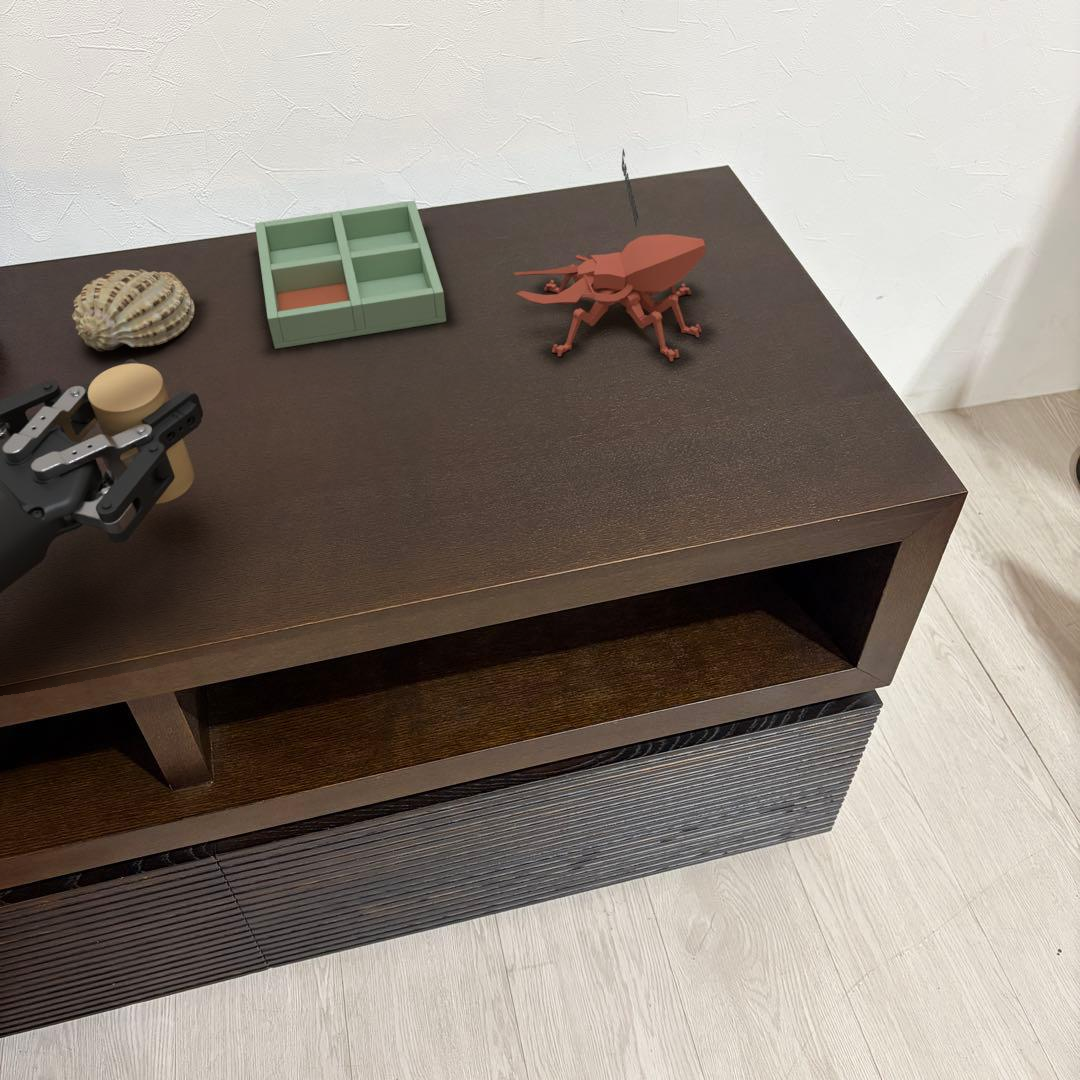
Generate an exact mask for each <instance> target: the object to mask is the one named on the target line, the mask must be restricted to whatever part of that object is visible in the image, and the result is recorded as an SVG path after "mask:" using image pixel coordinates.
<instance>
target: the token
mask: <svg viewBox="0 0 1080 1080" xmlns="http://www.w3.org/2000/svg"><path fill="white" fill-rule="evenodd" d="M122 364H123V363H122ZM118 365H119V366H117V365H115V366H116V367H114V366H113V367H111V368H108V369H106V370H104V371H103V372H101V373H99V374H98V375H97V376H95V378H93V380H92V381H91V382H92V383H91V382H90V383H91V384H90V386H89V389H88V399H89V401H90V403H91V406H92V408H93V411H94V413H95V416H96V418H97V423H98V425H99V428H100V430H101V432H102V434H106V435H107V436H114V435H116V434H118V433H121V432H123V431H125V430H127V429H130V428H132V427H134V426H136V425H139V424H143V422H142V420H143V419H144V418H146V417H147V416H148V415H150V414H152V413H153V412H155V411H156V410H157V409H158V408H159V407H161V406H162V405H163V404H165V403H166V402H168V401H169V400H170V399H171V398H170V396H169V393H168V390H167V386H166V384H165V381H164V379H163V375H162V374H161V373H160V371H159V370H158V369H156V368H154V367H153V366H151V365H148V364H144V363H140V364H137V363H132V364H123V365H120V364H118ZM136 453H138V450H137V448H136V447H135V448H133V449H131V450H129V451H126V452H124V453H122V454H121V456H120V459H121V460H123V459H125V458H128V457H130V456H132V455H134V454H136ZM166 453H167V456H168V459H169V461H170V464H171V467H172V470H173V472H174V475H175V478H174V480H173V482H172V483H171V484H170V485H169V487H168V488H167V489H166V491H165V492H164V493H163V494H162V496H161V497H160V498H159V500H158V501H157V502H156V503H155V505H158V504H164V503H167V502H170V501H173V500H175V499H177V498H179V497H181V496H182V495H184V494H185V493H186V492H187V491H188V490H189V489H190V488H191V486H192V485H193V482H194V479H195V470H194V467H193V464H192V461H191V458H190V454H189V452H188V449H187V446H186V443H185V440H184V438H183V439H181V440H180V441H179V442H177V443H176V444H175V445H173V446H172V447H171V448H169V449H168V450H167V451H166Z"/></svg>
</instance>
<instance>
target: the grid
mask: <svg viewBox="0 0 1080 1080" xmlns="http://www.w3.org/2000/svg"><path fill="white" fill-rule="evenodd" d="M254 226H255V234H256V242H257V248H258V257H259V264H260V271H261V272H260V273H261V278H262V280H261V281H262V286H263V287H262V288H263V295H264V302H265V309H266V318H267V323H268V326H269V331H270V334H271V339H272V343H273V346H274V347H273V348H274V349H275V350H277V349H283V348H284V349H285V348H289V347H296V346H302V345H303V346H304V345H309V344H315V343H321V342H328V341H335V340H341V339H346V338H351V337H358V336H365V335H371V334H378V333H383V332H390V331H391V332H392V331H396V330H397V331H398V330H403V329H409V328H415V327H416V328H417V327H422V326H428V325H429V326H430V325H433V324H441V323H446V322H447V314H446V303H445V294H444V289H443V286H442V283H441V279H440V276H439V273H438V269H437V266H436V264H435V260H434V257H433V253H432V251H431V247H430V245H429V242H428V239H427V235H426V232H425V229H424V226H423V222H422V219H421V215H420V213H419V209H418V207H417V202H416V200H409V201H400V202H393V203H385V204H378V205H372V206H366V207H364V206H363V207H359V208H358V207H357V208H352V209H344V210H337V211H331V212H324V213H316V214H309V215H304V216H295V217H287V218H280V219H274V220H267V221H260V222H259V221H258V222H255V223H254Z"/></svg>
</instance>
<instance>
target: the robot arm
mask: <svg viewBox="0 0 1080 1080" xmlns="http://www.w3.org/2000/svg"><path fill="white" fill-rule="evenodd" d="M132 363H137V364H141V362H138V361H136V360H134V359H132V358H131V359H127V360H126V361H125V362H123V363H120V364H117V365H115V366H113V367H116V366H119V365H123V364H132ZM91 383H92V381H91V382H89V383H88V384H86V385H85V386H81V385H74V386H71V387H69V388H61V387H60V385H59V384H58V382H57V381H55V380H46V381H43V382H41V383H39V384H36V385H34V386H32V387H29V388H27V389H25V390H22V391H19V392H17V393H15V394H12V395H10V396H8V397H6V398H3V399H2V400H0V594H1V593H3V592H4V591H5V590H7V589H8V588H9V587H10V586H12V585H13V584H15V583H16V582H18V581H19V579H21V578H22V577H24V576H25V575H26V574H28V573H29V572H30V571H32V570H33V569H34V568H35V567H37V566H38V565H39V564H41V563H42V562H43V561H44V560H45V558H46V556H47V553H48V550H49V548H50V545H51V544H52V542H53V541H54V540H55V539H56V538H58V537H60V536H62V535H64V534H66V533H69V532H73V531H75V530H78V529H79V528H82V527H83V526H84V525H85V526H88V527H93V528H96V529H99V530H103V531H105V533H106V535H107V537H108V539H109V541H110V542H111V543H115V544H119V543H123V542H125V541H127V540H128V539H129V538H131V536H132V534H133V533H134V532H135V531H136V529H137V528H138V527H139V526H140V524H141V523H142V521H143V520H144V519H145V518H146V516H147V515H148V514H149V512H150V511H151V510H152V509H153V508H154V506H155V505H156V504H155V503H156V502H157V501H158V500H159V498H160V497H161V496H162V494H163V493H164V492H165V491H166V489H167V488H168V487H169V485H170V484H171V483H172V482H173V480H174V478H175V475H174V472H173V470H172V467H171V464H170V461H169V459H168V456H167V453H166V451H167V450H168V449H169V448H171V447H172V446H173V445H175V444H176V443H177V442H179V441H180V440H181V439H183V440H184V438H186V436H188V435H189V434H191V433H192V432H193V431H194V430H197V429H198V428H199V426H200V424H202V420H203V416H204V411H203V408H202V405H201V401H200V398H199V395H198V394H197V393H195V392H194V391H191V390H189V389H183V390H182V391H180V392H179V393H177V394H175V395H174V396H173V397H171V398H169V399H170V400H169V401H168V402H166V403H165V404H163V405H162V406H161V407H159V408H158V409H157V410H156V411H155V412H153V413H152V414H150V415H148V416H147V417H146V418H144V419H143V420H142V422H143V424H139V425H136V426H134V427H132V428H130V429H127V430H125V431H123V432H121V433H118V434H116V435H114V436H107V435H106V434H103V433H100V434H97V435H95V436H93V437H90V438H88V439H86V440H84V441H83V439H84V438H85V437H86V436H87V435H88V434H89V433H90V431H92V429H93V428H94V427H95V425H96V424H97V423H98V420H97V418H96V416H95V413H94V411H93V408H92V406H91V403H90V401H89V399H88V389H89V386H90V384H91ZM41 404H44V406H42V407H41V408H40V410H38V411H37V413H36V414H33V415H31V416H27V414H26V412H27V411H28V410H29V409H31V408H34V407H37V406H38V405H41ZM135 447H136V448H137V450H138V453H136V454H134V455H132V456H130V457H128V458H125V459H123V460H121V459H120V456H121V454H122V453H124V452H126V451H129V450H131V449H133V448H135ZM100 458H102V460H103V463H104V465H105V467H106V470H105V472H104V473H102V470H101V468H100V465H99V463H98V461H97V459H100Z"/></svg>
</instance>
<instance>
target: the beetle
mask: <svg viewBox="0 0 1080 1080" xmlns="http://www.w3.org/2000/svg"><path fill="white" fill-rule="evenodd" d="M621 155H622V156H621V171H622V173H623V177H624V184H625V188H626V191H627V196H628V201H629V205H630V207H631V212H632V216H633V222H634V227H637V223H638V222H637V221H638V219H639V214H638V210H637V205H636V204H635V203H636V201H635V199H634V195H633V189H632V185H631V181H630V178H629V177H630V176H629V172H627V171H628V167H627V164H626V163H627V162H625V158H626V153H625V149H624V148H622V154H621ZM706 253H707V251H706V244H705V241H704V239H703V238H697V237H691V236H683V235H678V234H677V235H676V234H670V233H667V234H651V235H640V236H639V237H637V238H635V239H634V240H631V241H630V242H628V243H627V244H626V246H625V247H624V248H623V249H622V251H616V252H612V253H606V254H590V256H589V257H590V258H588V257H586V256H582V255H580V254H576V256H575V260H578V261H581V262H582V263H581V264H577V265H576V264H573V263H572V264H570V265H568V266H567V265H566V266H562V267H558V268H553V269H544V270H529V271H515V272H513V275H514V276H535V275H564V278H563V279H562V281H561V284H560V286H559V287H558V286H557V284H555V281H554V280H553V279H550V280H549V283H546V284H545V286H544V288H543V290H544V291H545V292H547V291H549V292H553V293H555V294H541V293H536V292H530V291H525V290H520V291H518V292H516V293H515V295H516V296H518V297H520V298H522V299H524V300H526V301H528V302H531V303H535V304H540V305H557V304H568V305H569V304H571V305H576V304H577V303H578V302H579V301H580V300H581V299H582V298H588V299H591V300H594V301H595V302H594V304H593V305H592V307H591V309H590V310H589V312H587V311H585V310H584V309H582V308H581V307H579V308H576V309H575V310H574V311H573V314H572V316H573V318H572V321H571V325H570V328H569V332H568V336H567V339H566V342H565V343H564V345H563V344H560V345H558V344H557V343H554V344H553V347H552V349H551V352H552V353H555V354H556V353H557V356H558V357H559V358H560V357H562V355H563V354H564V353H565V352H567V351H571V350H572V349H573V345H572V344H573V341H574V339H575V337H576V335H577V332H578V329H579V327H580V324H581V322H582V321H583V322H584V323H585V324H587V325H589V326H590V327H593V326H595V325H596V323H597V322H598V321H599V320H600V319H601V318H602V316H604V314H605V313H607V312H608V311H609V306H612V305H614V304H617V303H620V304H621V305H622V306H623V307H625V308H626V309H625V312H626V313H627V314H628V315H630V317H631V318H632V319H633V321H634V322H635V324H636V325H637V327H639V328H640V329H644V328H647V327H648V326H649V325H651V324H653V328H654V331H655V335H656V338H657V342H658V345H659V348H660V350H659V352H660V354H662V355H665V356H666V357H667V358H668V360H669V362H673V361H674V359H675V358H676V359H678V358H680V353H679V349H677V348H675V349H674V350H673V349H672V348H668V347H667V346H666V340H665V333H664V329H663V323H662V320H663V316H662V313H663V312H665V311H666V310H668V309H669V308H671V309H672V311H673V313H674V316H675V319H676V321H677V323H678V325H679V327H680V332H681V333H682V334H689V335H692V336H693V335H694V336H695V338H699V337H700V334H699V333H702V328H701V326H700V323H697V324H695V326H692V325H691V326H690V327H688V326H687V325H685V321H684V317H683V314H682V311H681V308H680V305H679V297H682V296H684V295H688V296H690V295H692V291H691V289H690V287H687V286H686V284H685V283H684V282H683V283H682V284H681V287H680V288H678V291H677V290H676V287H675V285H676V284H678V283H679V282H681V281H683V280H684V278H685V277H686V276H687V275H688V274H689V273H690V271H691V270H693V268H694V267H695V266H696V265H697V263H698V262H699V261H700V260H701V259H702V258H703V257H704V256H705V254H706ZM571 278H572V279H573V281H574V283H573V284H572V285H571V286H569V287H568V288H566V289H565V287H567V285H568V283H569V281H570V280H571ZM667 289H669V290H670V292H671V294H669V295H667V296H666V297H665V298H663V299H661V300H659V301H658V302H657V301H656V302H655V301H654V300H653V299H652V297H653V296H656V295H657V294H659V292H664V291H665V290H667ZM643 309H644V310H645V311H646V312H647V313H649V314H648V315H645V313H644V311H643Z"/></svg>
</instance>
